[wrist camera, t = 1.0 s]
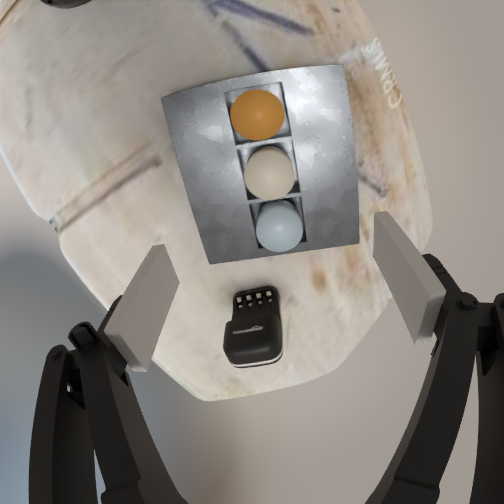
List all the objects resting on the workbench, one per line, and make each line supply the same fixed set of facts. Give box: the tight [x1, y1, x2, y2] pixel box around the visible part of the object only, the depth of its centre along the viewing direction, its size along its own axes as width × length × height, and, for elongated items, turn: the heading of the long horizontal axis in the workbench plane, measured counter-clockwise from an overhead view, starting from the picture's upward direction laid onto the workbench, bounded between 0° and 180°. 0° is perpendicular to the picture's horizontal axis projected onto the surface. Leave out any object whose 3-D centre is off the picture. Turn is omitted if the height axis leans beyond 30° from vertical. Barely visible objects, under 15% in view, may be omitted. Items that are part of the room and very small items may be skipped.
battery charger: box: [223, 287, 283, 368], centre depth 36 cm, size 7×4×11 cm, turn 108°
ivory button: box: [244, 146, 295, 200], centre depth 27 cm, size 5×5×3 cm
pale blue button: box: [256, 200, 303, 252], centre depth 31 cm, size 5×5×3 cm
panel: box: [161, 64, 359, 264], centre depth 29 cm, size 20×18×3 cm
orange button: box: [230, 89, 285, 140], centre depth 24 cm, size 5×5×3 cm
